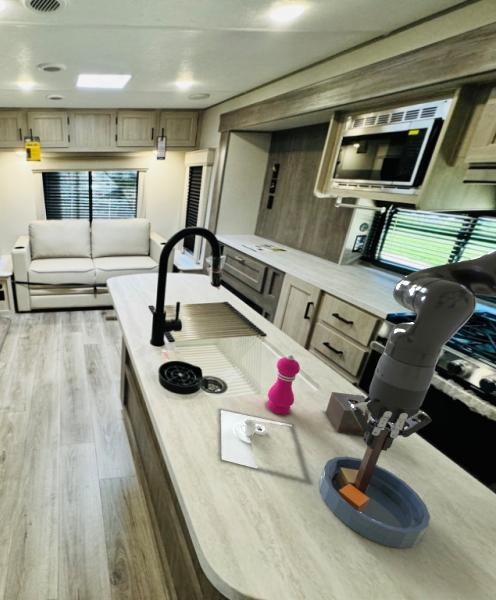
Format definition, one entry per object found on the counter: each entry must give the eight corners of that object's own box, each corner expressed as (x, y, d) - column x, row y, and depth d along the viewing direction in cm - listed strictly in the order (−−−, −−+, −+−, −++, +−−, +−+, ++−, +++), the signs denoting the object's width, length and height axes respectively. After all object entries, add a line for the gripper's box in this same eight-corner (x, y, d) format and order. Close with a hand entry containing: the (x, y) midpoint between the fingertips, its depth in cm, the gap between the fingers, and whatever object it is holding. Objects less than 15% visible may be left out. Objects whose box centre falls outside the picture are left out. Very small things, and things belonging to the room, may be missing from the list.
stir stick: (358, 493, 71) (384, 425, 64) (362, 500, 70) (389, 431, 63) (350, 492, 72) (375, 424, 64) (354, 498, 70) (379, 429, 63)
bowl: (388, 481, 76) (395, 464, 74) (442, 561, 60) (454, 542, 58) (307, 466, 80) (312, 450, 78) (338, 538, 64) (345, 520, 62)
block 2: (344, 495, 72) (349, 483, 71) (364, 511, 69) (370, 498, 67) (334, 502, 70) (338, 490, 69) (353, 519, 67) (359, 506, 66)
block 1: (354, 482, 75) (359, 470, 74) (363, 497, 71) (368, 485, 70) (335, 479, 76) (340, 467, 74) (343, 494, 72) (348, 481, 71)
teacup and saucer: (264, 428, 92) (267, 417, 91) (268, 449, 86) (271, 437, 84) (232, 421, 95) (234, 411, 94) (234, 441, 88) (236, 429, 87)
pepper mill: (268, 414, 98) (281, 359, 91) (263, 399, 105) (274, 347, 97) (294, 417, 96) (309, 362, 89) (286, 402, 103) (300, 349, 96)
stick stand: (355, 416, 96) (363, 395, 93) (370, 436, 89) (379, 414, 86) (325, 412, 98) (331, 391, 95) (337, 431, 91) (344, 410, 88)
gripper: (369, 384, 57) (346, 455, 64) (462, 394, 54) (427, 467, 60) (349, 362, 64) (330, 428, 70) (431, 370, 61) (402, 438, 67)
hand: (375, 446), depth 65 cm, fingers closed on stir stick
